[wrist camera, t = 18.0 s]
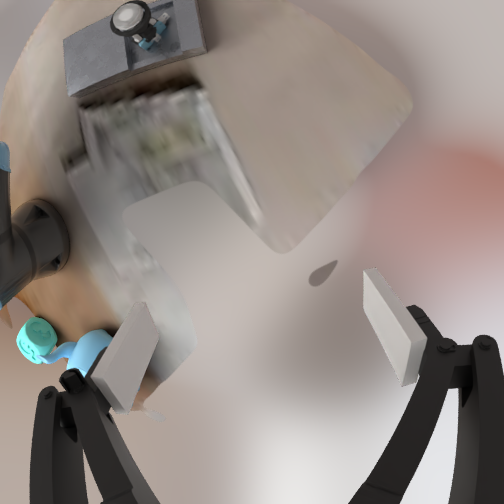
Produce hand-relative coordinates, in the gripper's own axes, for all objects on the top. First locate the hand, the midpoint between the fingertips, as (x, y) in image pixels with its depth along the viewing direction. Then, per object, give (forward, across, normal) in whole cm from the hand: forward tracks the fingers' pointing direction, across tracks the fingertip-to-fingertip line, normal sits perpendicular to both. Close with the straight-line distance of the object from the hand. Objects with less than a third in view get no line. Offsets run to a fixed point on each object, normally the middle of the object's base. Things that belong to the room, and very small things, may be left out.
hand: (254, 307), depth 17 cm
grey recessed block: (+29, -14, +29) cm, 43 cm away
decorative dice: (+29, -55, -20) cm, 65 cm away
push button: (+27, -10, +29) cm, 41 cm away
